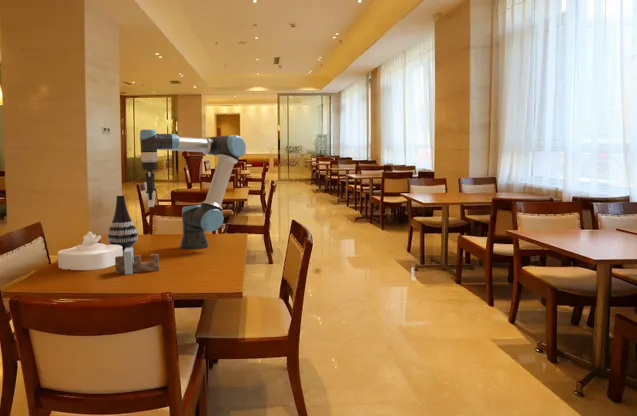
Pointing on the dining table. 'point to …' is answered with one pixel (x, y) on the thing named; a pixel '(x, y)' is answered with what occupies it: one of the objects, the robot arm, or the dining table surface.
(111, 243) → the vase
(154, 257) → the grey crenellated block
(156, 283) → the dining table surface
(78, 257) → the tissue box
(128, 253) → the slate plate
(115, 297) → the dining table surface
